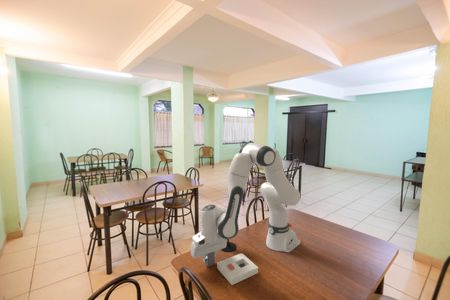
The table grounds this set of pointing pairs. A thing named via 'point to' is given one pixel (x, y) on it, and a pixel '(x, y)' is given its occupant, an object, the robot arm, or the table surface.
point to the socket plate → (237, 268)
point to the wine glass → (229, 247)
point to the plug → (210, 259)
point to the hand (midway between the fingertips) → (209, 259)
